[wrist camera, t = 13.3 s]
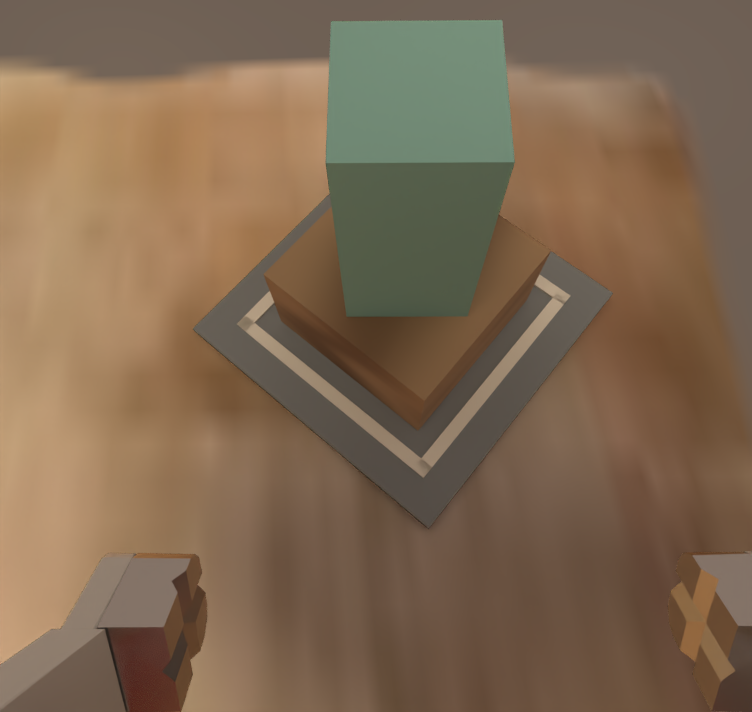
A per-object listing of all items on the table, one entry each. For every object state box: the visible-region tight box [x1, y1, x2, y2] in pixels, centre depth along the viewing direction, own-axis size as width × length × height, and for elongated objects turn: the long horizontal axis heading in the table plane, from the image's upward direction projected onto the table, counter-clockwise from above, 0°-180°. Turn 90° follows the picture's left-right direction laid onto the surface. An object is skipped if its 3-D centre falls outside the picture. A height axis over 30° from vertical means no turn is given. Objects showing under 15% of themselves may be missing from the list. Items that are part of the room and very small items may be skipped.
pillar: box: [326, 20, 515, 317], centre depth 18 cm, size 4×4×8 cm
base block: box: [263, 206, 551, 431], centre depth 23 cm, size 7×7×4 cm
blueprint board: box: [193, 194, 613, 529], centre depth 25 cm, size 12×12×1 cm
